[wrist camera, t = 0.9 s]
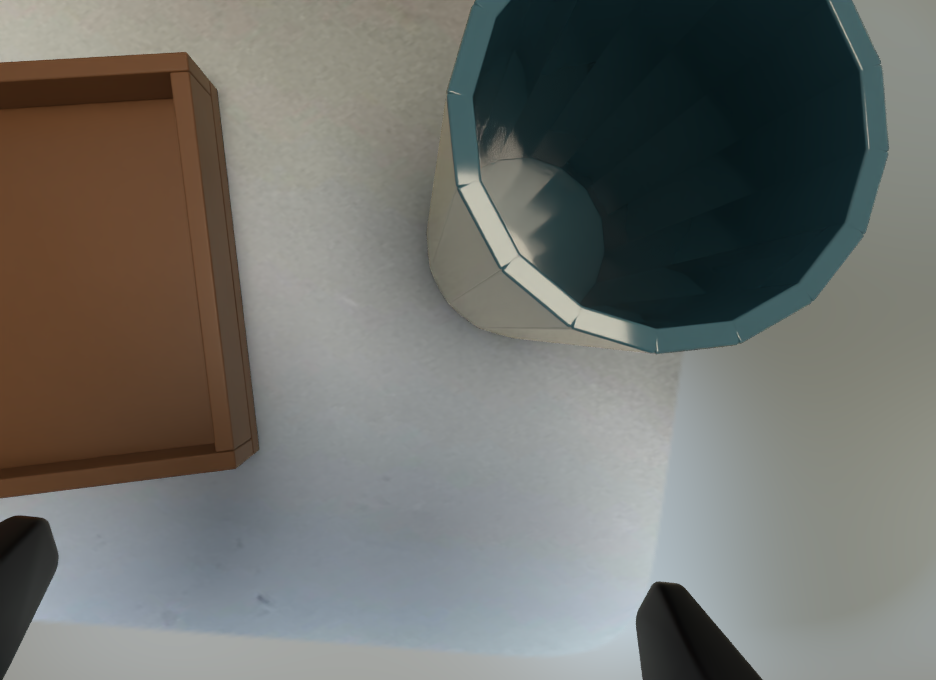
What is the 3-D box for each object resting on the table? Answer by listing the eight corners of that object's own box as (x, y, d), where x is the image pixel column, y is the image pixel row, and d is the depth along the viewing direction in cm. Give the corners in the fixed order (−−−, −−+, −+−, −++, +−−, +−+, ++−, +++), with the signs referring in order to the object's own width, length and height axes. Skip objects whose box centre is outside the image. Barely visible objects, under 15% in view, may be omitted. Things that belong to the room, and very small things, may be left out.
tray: (259, 450, 21) (236, 469, 18) (-69, 490, 20) (-148, 517, 17) (217, 88, 20) (186, 50, 18) (-121, 110, 19) (-211, 73, 17)
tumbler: (616, 326, 22) (904, 326, 9) (437, 346, 21) (475, 375, 8) (598, 146, 22) (869, -117, 9) (417, 160, 21) (425, -102, 8)
